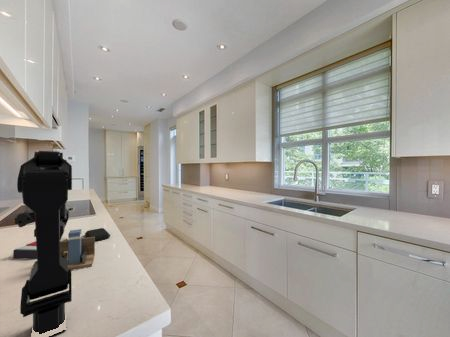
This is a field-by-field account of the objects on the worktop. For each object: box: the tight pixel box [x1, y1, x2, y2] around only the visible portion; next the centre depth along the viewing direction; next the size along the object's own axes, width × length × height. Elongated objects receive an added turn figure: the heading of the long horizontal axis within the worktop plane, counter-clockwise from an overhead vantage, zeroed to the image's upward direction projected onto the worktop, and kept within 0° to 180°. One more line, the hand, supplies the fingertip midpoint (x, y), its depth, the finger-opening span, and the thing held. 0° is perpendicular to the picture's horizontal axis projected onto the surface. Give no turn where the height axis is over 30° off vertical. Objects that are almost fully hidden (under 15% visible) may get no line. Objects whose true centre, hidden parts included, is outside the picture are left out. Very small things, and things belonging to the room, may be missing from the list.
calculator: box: [12, 237, 68, 260], centre depth 88 cm, size 11×4×15 cm
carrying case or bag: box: [84, 227, 111, 243], centre depth 105 cm, size 11×3×15 cm
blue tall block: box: [67, 228, 82, 265], centre depth 77 cm, size 4×4×12 cm
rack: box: [60, 237, 96, 271], centre depth 77 cm, size 11×14×8 cm
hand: (54, 247), depth 63 cm, fingers open, 9 cm apart
